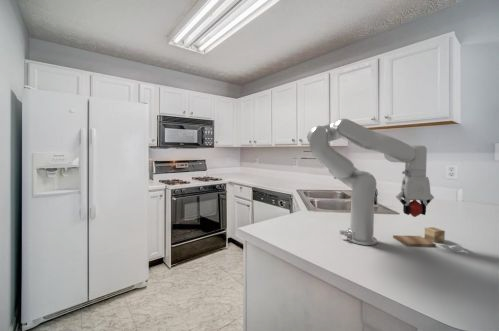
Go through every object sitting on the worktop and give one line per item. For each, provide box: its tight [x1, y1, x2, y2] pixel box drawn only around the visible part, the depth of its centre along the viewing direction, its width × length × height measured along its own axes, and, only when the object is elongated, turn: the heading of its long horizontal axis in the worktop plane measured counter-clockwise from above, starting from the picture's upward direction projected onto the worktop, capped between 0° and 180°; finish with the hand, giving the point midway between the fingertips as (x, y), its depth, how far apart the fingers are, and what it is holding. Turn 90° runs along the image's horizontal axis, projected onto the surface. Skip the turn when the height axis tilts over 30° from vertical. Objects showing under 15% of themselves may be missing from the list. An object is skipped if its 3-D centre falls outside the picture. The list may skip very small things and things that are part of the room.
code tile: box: [439, 244, 477, 255], centre depth 94 cm, size 8×8×1 cm
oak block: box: [424, 226, 446, 242], centre depth 104 cm, size 5×5×5 cm
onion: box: [408, 200, 423, 218], centre depth 101 cm, size 6×6×8 cm
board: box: [392, 234, 437, 248], centre depth 102 cm, size 12×10×1 cm
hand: (414, 213), depth 101 cm, fingers closed on onion, 5 cm apart
